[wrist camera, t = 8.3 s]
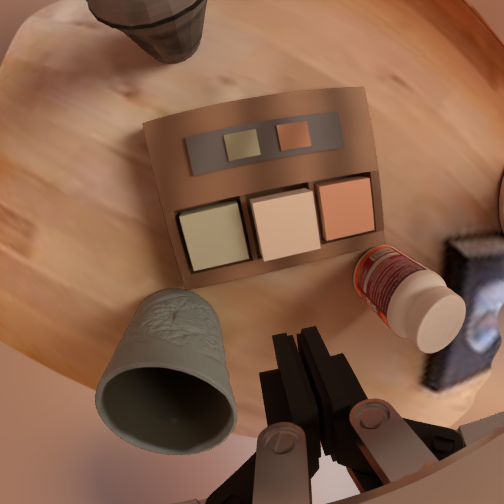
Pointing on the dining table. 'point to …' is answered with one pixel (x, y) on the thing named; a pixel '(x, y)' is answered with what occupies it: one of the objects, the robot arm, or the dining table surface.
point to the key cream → (285, 223)
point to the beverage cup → (156, 24)
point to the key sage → (214, 235)
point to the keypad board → (262, 167)
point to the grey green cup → (169, 378)
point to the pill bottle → (409, 298)
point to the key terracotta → (344, 207)
